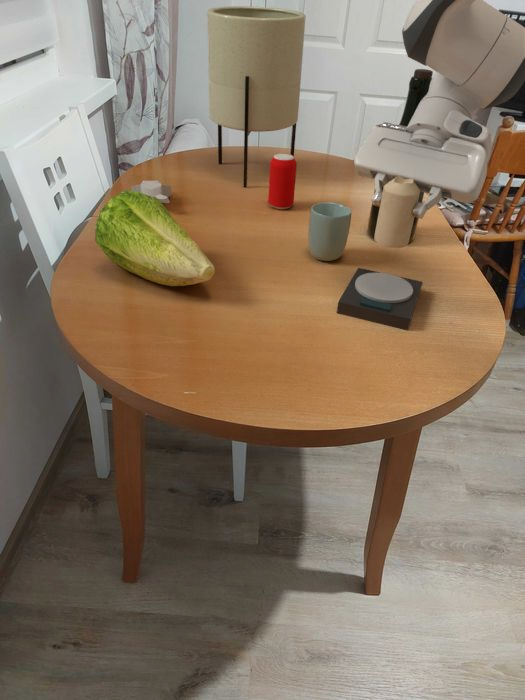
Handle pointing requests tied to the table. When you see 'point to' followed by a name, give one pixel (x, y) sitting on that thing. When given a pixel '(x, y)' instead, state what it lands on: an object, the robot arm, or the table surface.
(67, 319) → the table surface
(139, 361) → the table surface
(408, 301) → the scale
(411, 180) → the candle
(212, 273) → the lettuce
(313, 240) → the cup
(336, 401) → the table surface
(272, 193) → the beverage can
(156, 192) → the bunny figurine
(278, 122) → the planter
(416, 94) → the dark wine bottle
